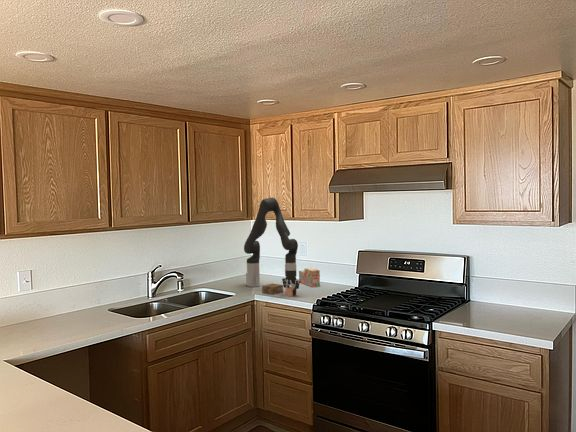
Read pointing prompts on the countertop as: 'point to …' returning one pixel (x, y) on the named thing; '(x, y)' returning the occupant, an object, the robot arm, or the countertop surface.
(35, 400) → the countertop surface
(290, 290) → the terracotta cube
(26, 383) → the countertop surface
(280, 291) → the walnut block
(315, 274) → the stack of blocks
